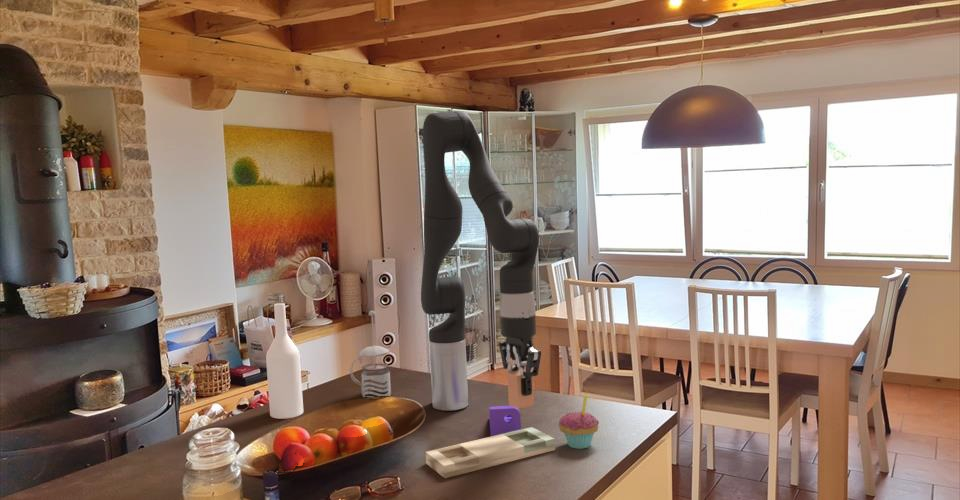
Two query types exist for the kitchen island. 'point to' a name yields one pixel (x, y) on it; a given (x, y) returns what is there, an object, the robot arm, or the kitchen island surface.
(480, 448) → the rail
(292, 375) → the bottle
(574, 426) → the cupcake
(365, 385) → the french press
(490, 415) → the bracket
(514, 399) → the salmon orange rectangular block
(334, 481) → the kitchen island surface
